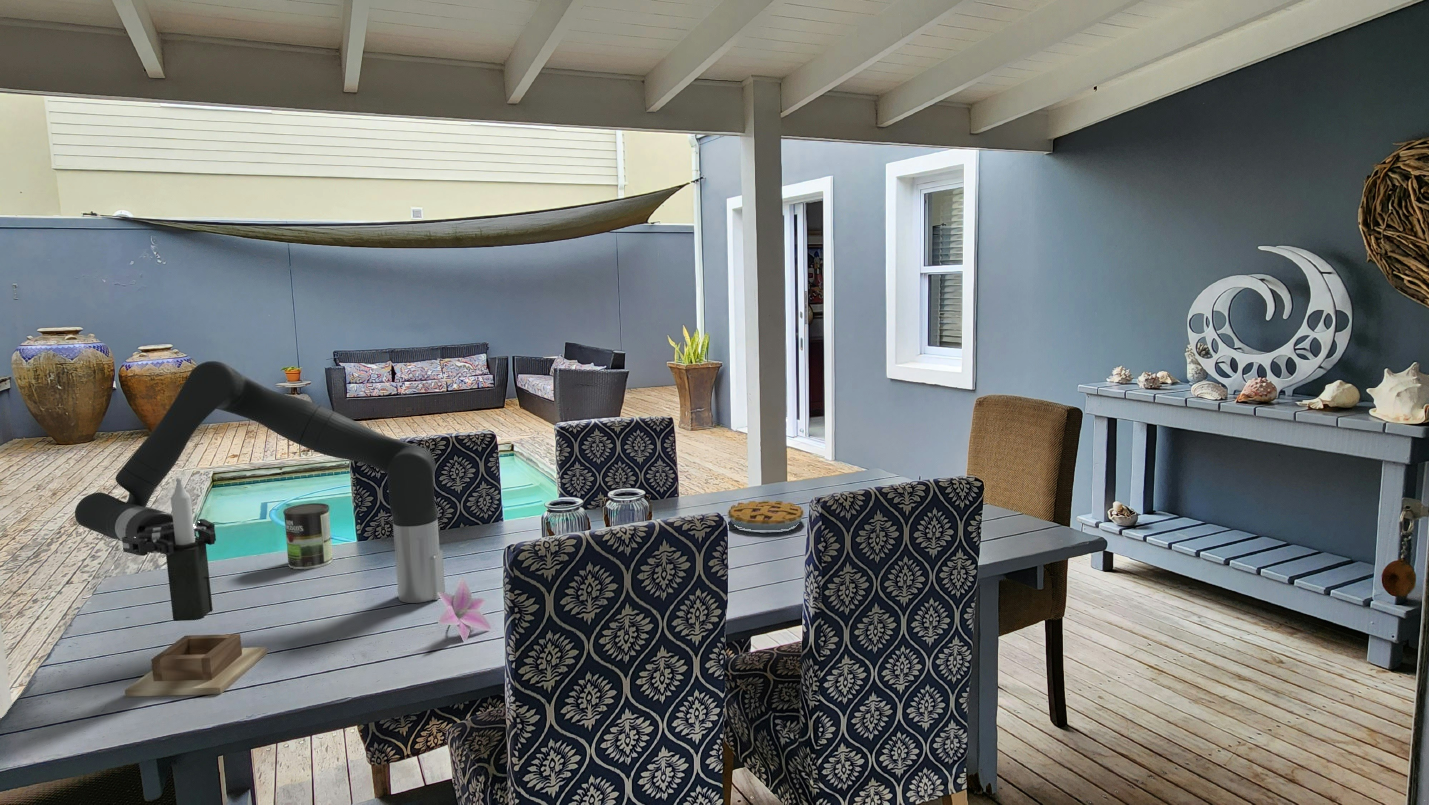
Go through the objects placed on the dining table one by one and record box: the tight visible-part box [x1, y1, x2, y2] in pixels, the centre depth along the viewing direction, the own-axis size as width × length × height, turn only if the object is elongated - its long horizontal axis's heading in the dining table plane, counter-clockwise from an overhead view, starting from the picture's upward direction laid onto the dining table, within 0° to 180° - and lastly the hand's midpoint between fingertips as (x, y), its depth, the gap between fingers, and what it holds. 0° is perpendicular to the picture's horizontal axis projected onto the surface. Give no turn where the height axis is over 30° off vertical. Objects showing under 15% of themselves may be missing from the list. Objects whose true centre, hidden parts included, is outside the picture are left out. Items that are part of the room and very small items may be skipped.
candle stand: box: [124, 633, 268, 698], centre depth 153 cm, size 16×16×5 cm
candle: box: [165, 477, 214, 622], centre depth 150 cm, size 5×5×25 cm
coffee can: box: [283, 502, 334, 570], centre depth 212 cm, size 10×10×14 cm
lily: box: [437, 577, 493, 643], centre depth 169 cm, size 12×12×10 cm
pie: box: [726, 500, 805, 530], centre depth 240 cm, size 22×22×5 cm
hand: (192, 543), depth 148 cm, fingers closed on candle, 6 cm apart
